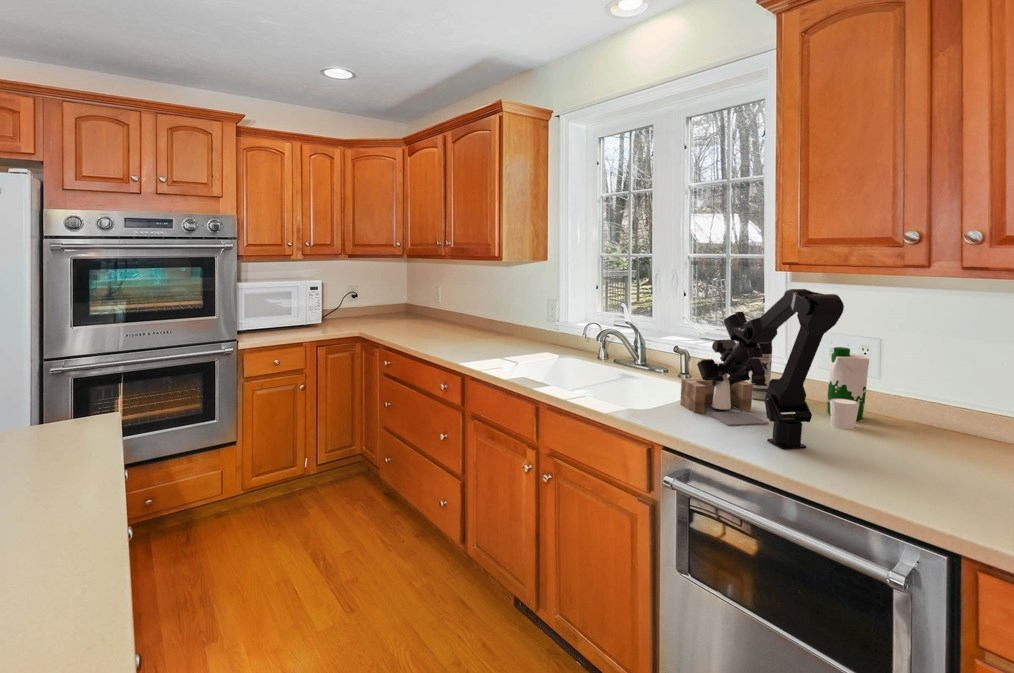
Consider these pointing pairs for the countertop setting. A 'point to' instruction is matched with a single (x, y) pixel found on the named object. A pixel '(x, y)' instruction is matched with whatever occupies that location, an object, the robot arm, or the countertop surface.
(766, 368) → the spray can
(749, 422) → the grey mat
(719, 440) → the countertop surface
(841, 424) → the white cup
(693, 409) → the wooden u-shaped block
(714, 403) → the pepper shaker
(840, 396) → the milk carton
